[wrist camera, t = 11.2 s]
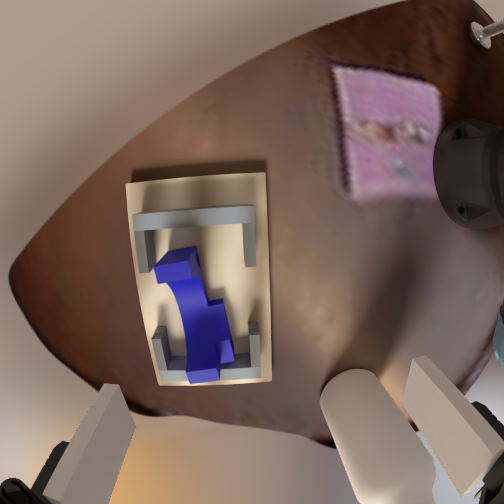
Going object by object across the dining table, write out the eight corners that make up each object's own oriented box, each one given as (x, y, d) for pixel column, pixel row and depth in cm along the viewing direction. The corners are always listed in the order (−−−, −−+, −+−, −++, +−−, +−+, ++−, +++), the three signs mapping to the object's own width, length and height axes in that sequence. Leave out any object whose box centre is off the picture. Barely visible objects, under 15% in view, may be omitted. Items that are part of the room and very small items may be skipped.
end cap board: (263, 173, 29) (269, 170, 25) (270, 373, 35) (275, 396, 30) (130, 183, 29) (114, 184, 24) (161, 378, 34) (154, 400, 30)
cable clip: (234, 346, 32) (235, 378, 26) (195, 352, 32) (189, 384, 26) (211, 242, 29) (206, 257, 23) (167, 250, 29) (153, 267, 23)
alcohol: (354, 415, 38) (432, 571, 9) (307, 407, 37) (371, 597, 8) (386, 371, 36) (499, 527, 7) (338, 359, 35) (450, 559, 6)
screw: (474, 26, 25) (487, 51, 26) (459, 25, 25) (473, 50, 26) (522, 4, 13) (538, 33, 14) (509, -1, 13) (527, 30, 14)
